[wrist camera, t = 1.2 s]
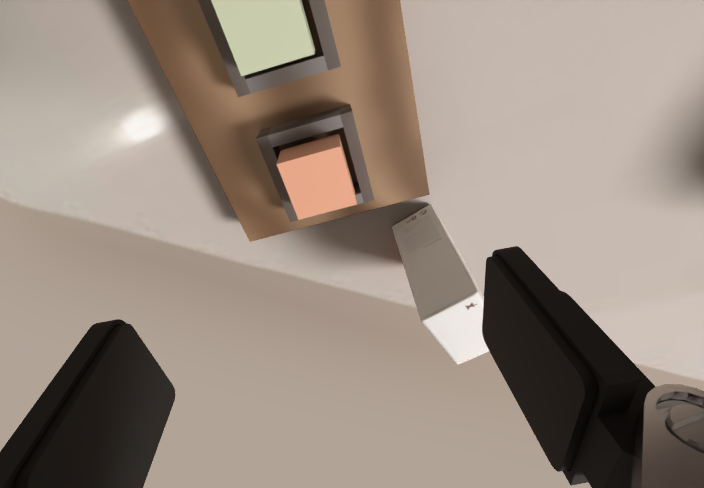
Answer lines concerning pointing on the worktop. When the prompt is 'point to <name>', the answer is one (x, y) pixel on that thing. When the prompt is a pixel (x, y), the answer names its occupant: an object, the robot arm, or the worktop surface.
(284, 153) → the terracotta button
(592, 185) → the worktop surface
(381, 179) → the console
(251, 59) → the green button
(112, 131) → the worktop surface
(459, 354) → the skincare box
